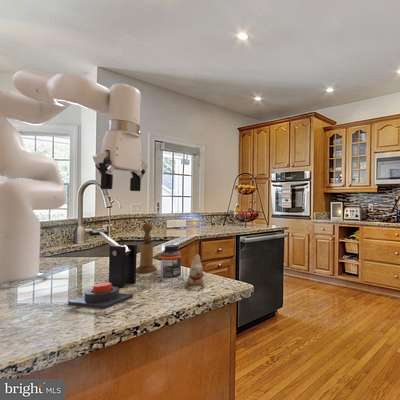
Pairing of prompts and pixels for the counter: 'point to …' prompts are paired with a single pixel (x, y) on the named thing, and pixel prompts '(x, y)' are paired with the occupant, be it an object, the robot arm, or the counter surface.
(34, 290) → the counter surface
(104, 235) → the lever
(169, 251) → the supplement bottle
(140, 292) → the counter surface
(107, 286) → the button
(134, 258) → the bracket
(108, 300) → the button box
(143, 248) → the brown chess piece
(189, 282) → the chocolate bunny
